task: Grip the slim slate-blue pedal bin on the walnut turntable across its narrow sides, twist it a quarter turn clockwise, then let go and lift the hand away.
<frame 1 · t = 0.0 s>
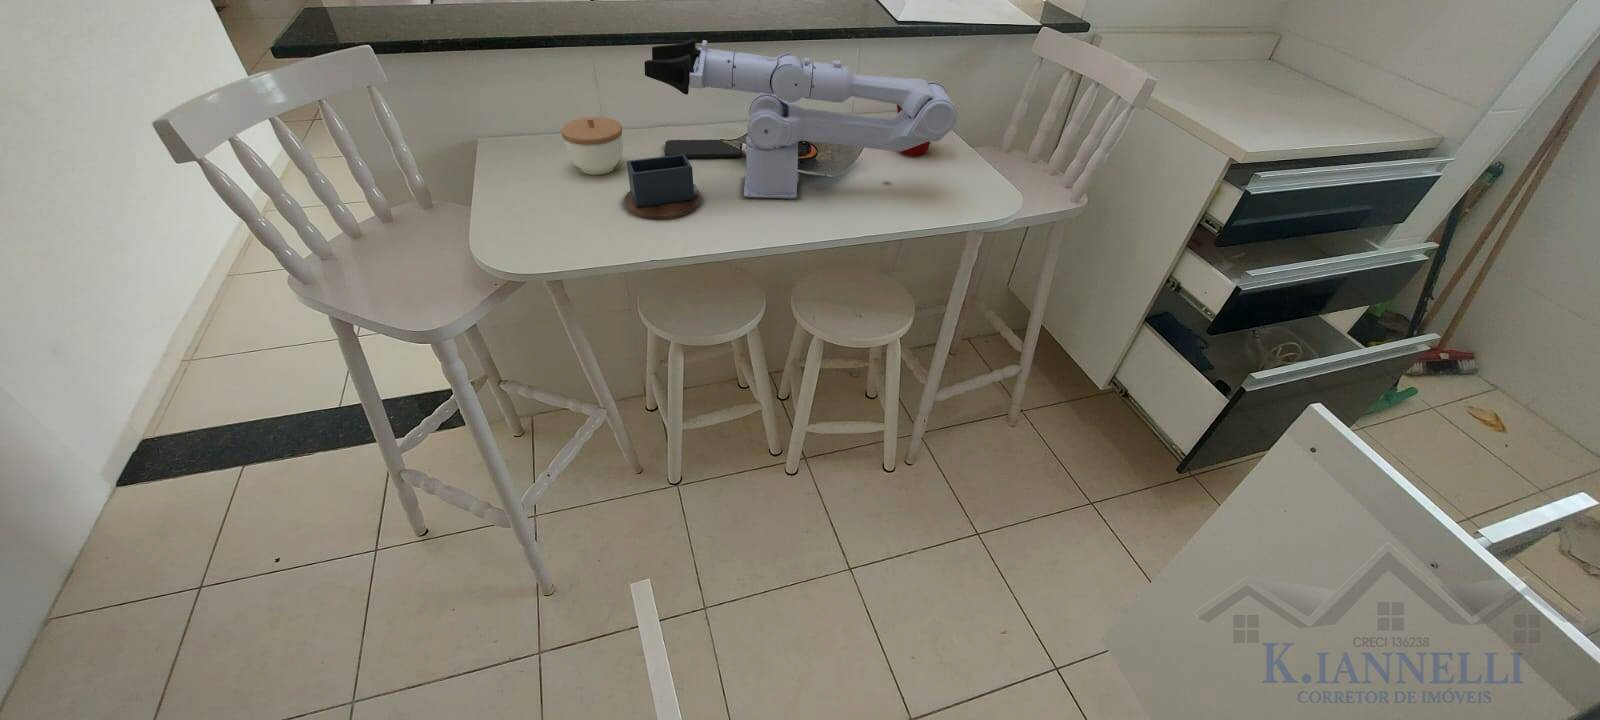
hand: (648, 60, 107), 22 cm above the table, tool horizontal, fingers open, 7 cm apart
trinket box: (598, 168, 126), on the table
phone: (703, 151, 133), on the table
bin: (664, 179, 114), point 4 cm above the table, hinge at 0.0°
turntable: (663, 201, 116), on the table
plastic cup: (913, 152, 137), on the table
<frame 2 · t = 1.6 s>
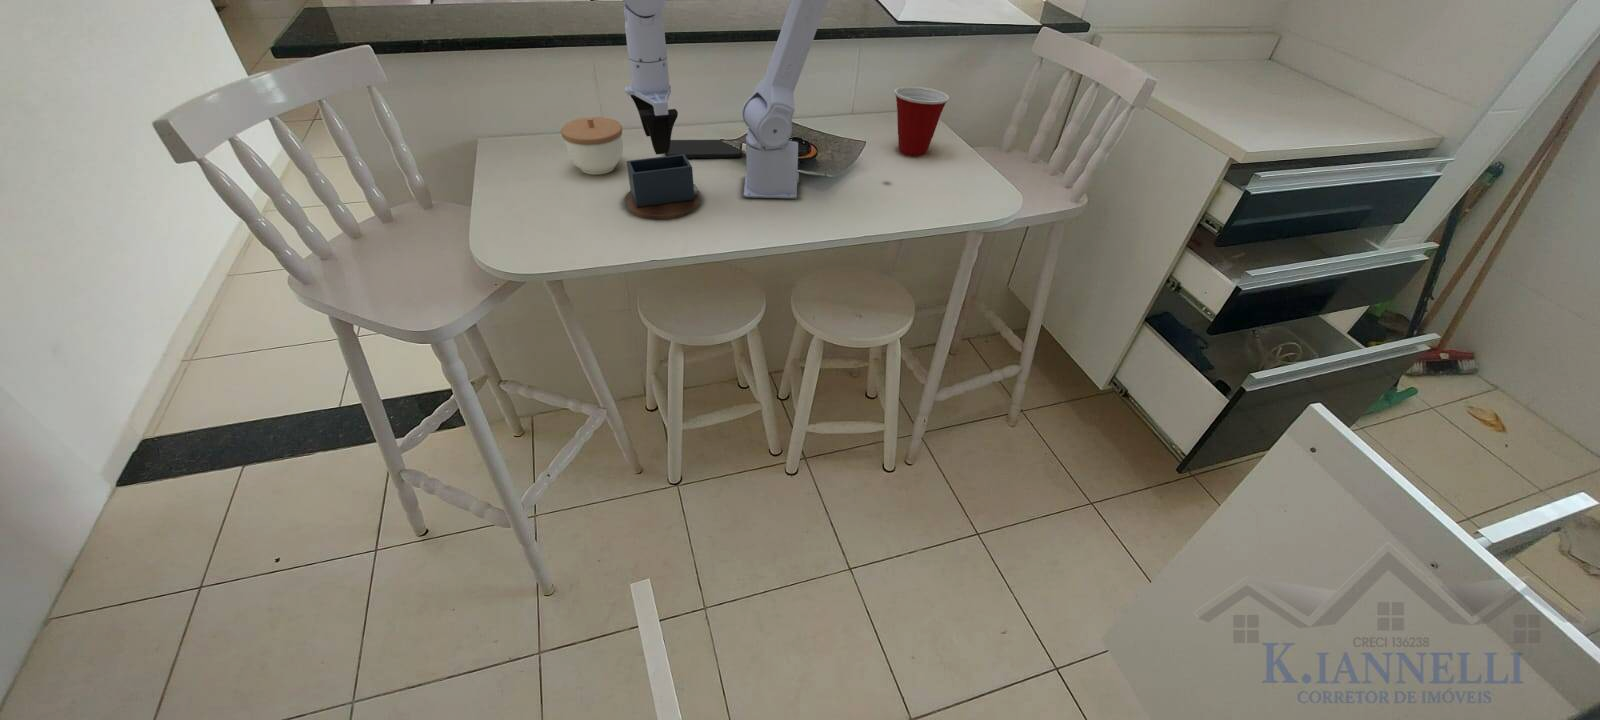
hand: (657, 144, 109), 10 cm above the table, tool pointing down, fingers open, 7 cm apart
nothing on the table moved.
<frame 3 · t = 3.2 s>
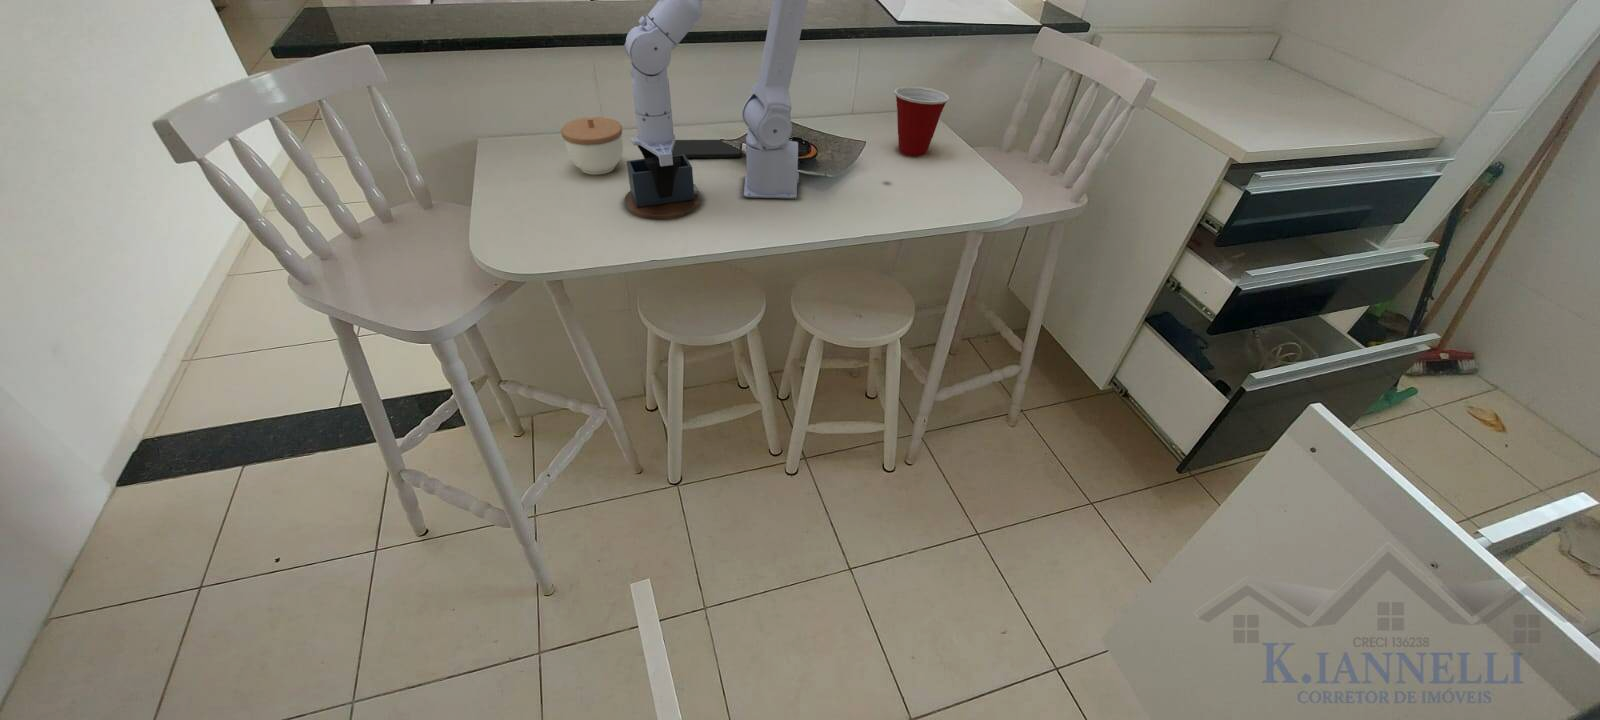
hand: (661, 188, 115), 2 cm above the table, tool pointing down, fingers closed on bin, 5 cm apart
bin: (664, 179, 114), point 4 cm above the table, hinge at 0.0°, touching gripper
everything else where it was.
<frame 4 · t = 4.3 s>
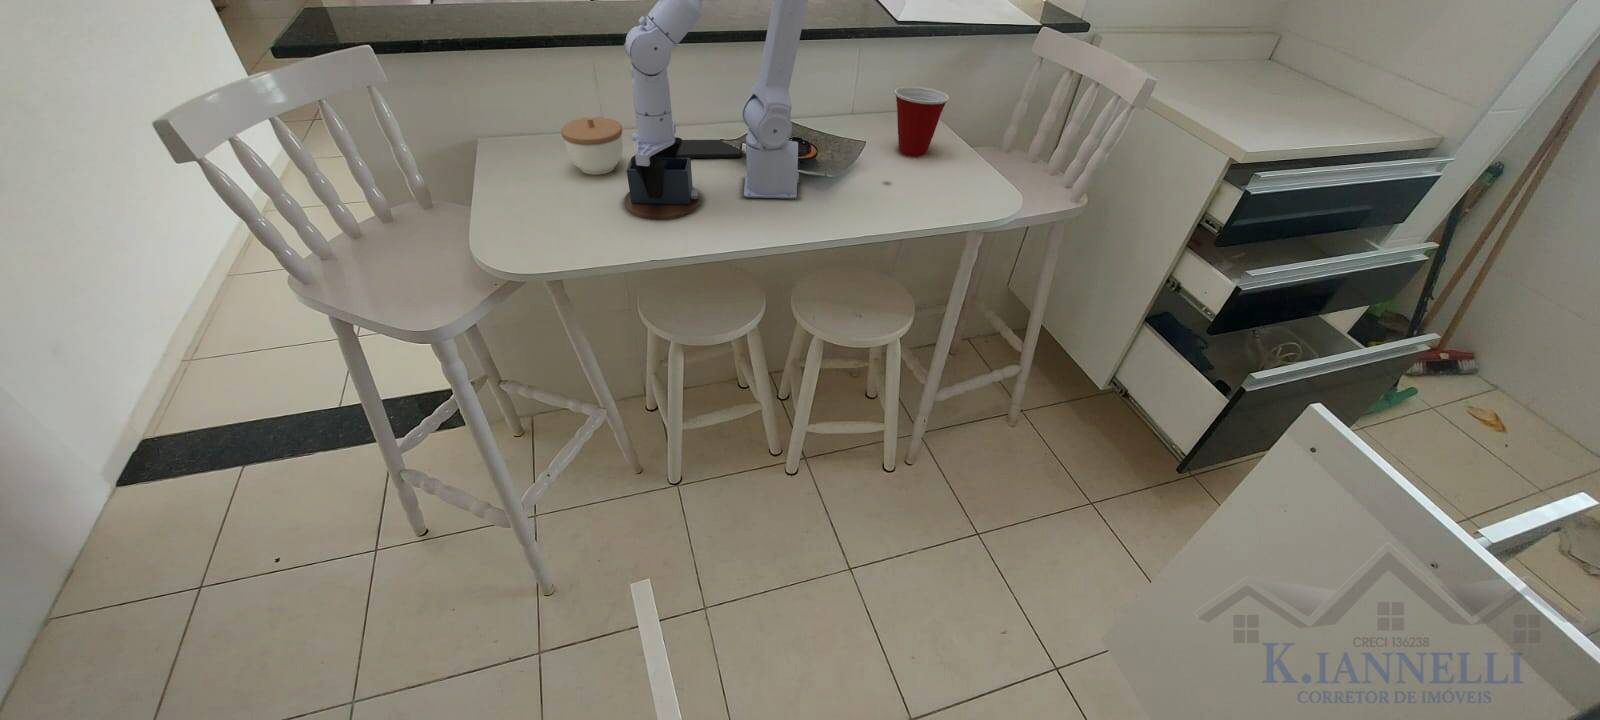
hand: (661, 188, 115), 2 cm above the table, tool pointing down, fingers closed on bin, 6 cm apart
bin: (664, 180, 114), point 4 cm above the table, hinge at -19.3°, touching gripper
everything else where it was.
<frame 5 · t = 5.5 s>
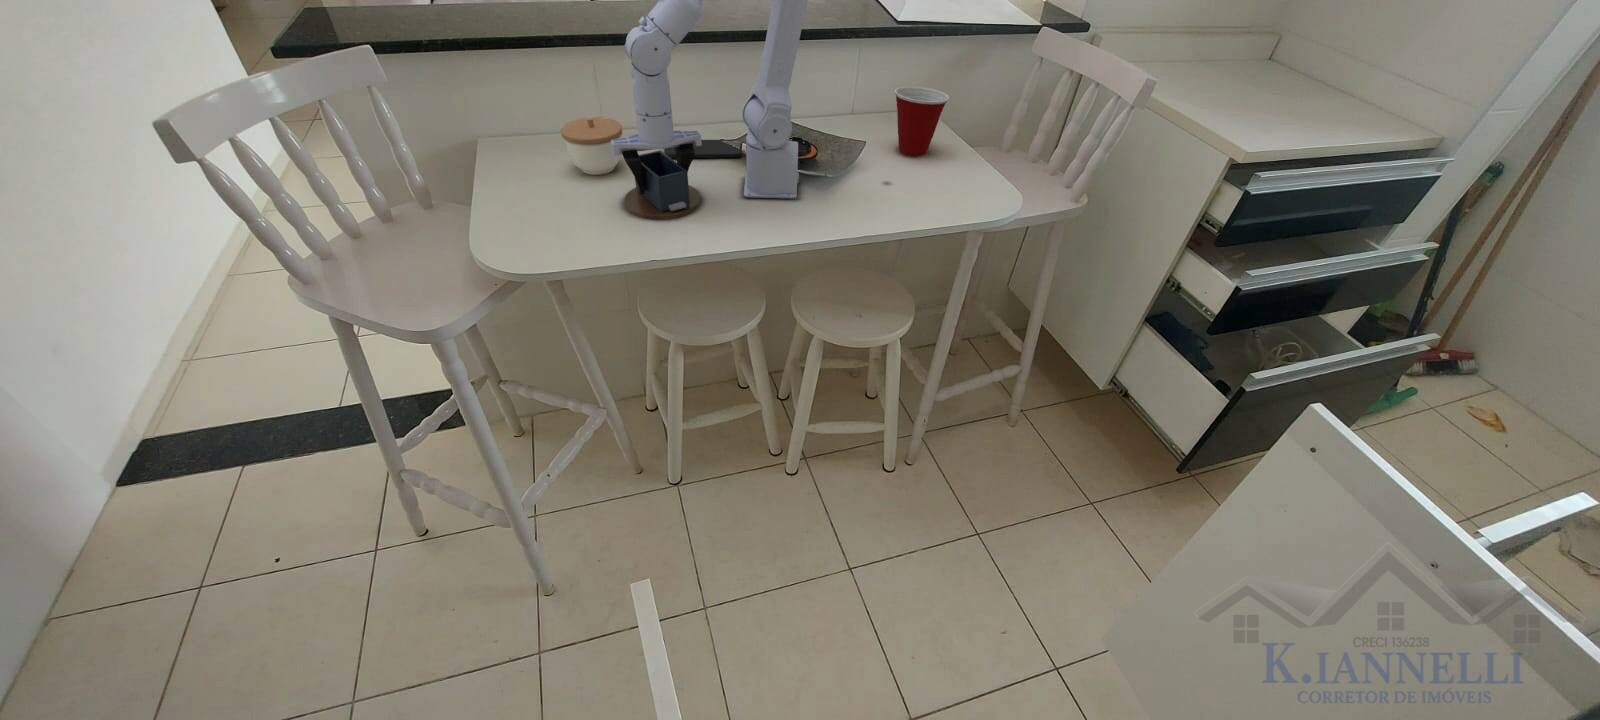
hand: (662, 189, 115), 2 cm above the table, tool pointing down, fingers closed on bin, 6 cm apart
bin: (662, 181, 113), point 4 cm above the table, hinge at -75.9°, touching gripper
everything else where it was.
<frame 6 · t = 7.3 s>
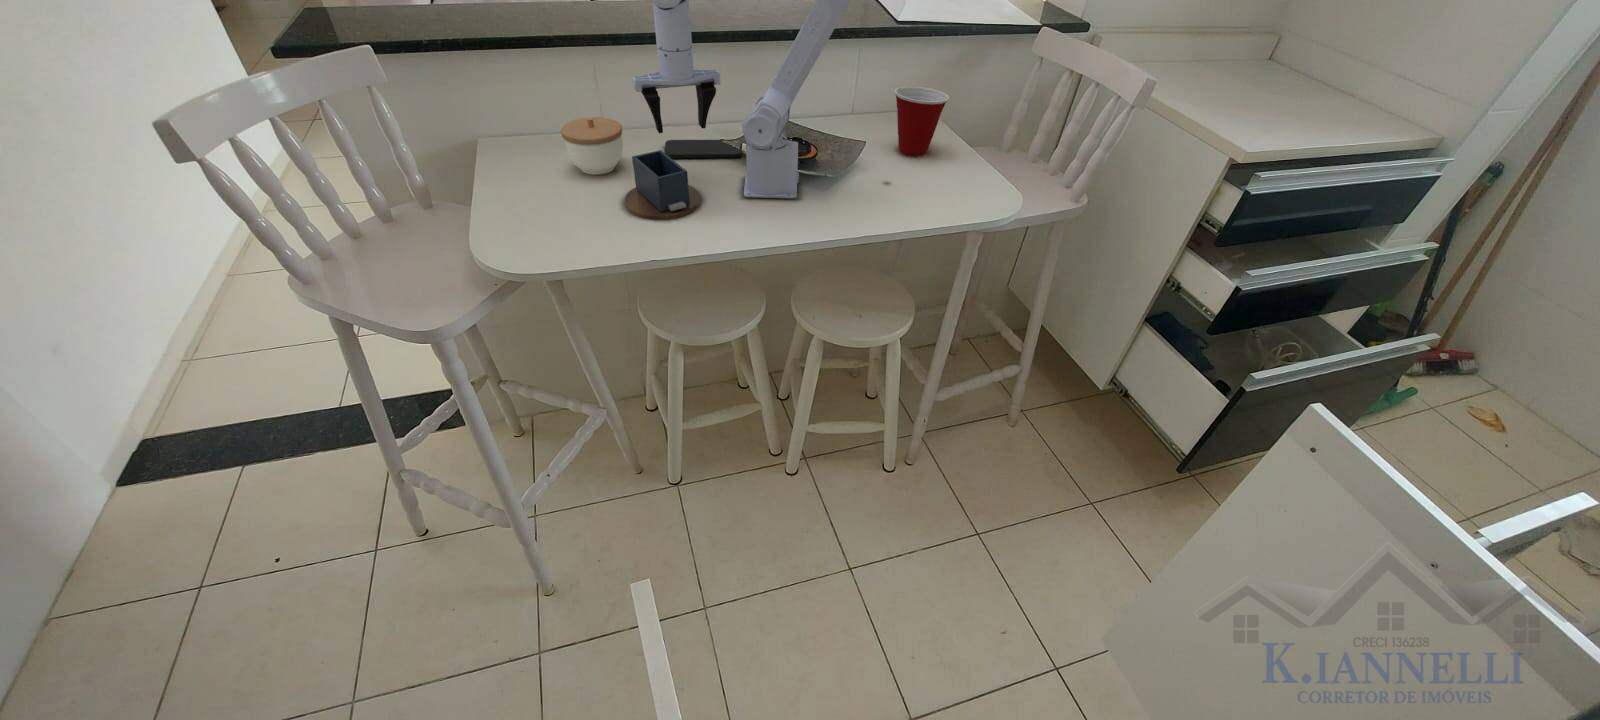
hand: (681, 128, 117), 9 cm above the table, tool pointing down, fingers open, 7 cm apart
bin: (662, 181, 113), point 4 cm above the table, hinge at -76.2°
everything else where it was.
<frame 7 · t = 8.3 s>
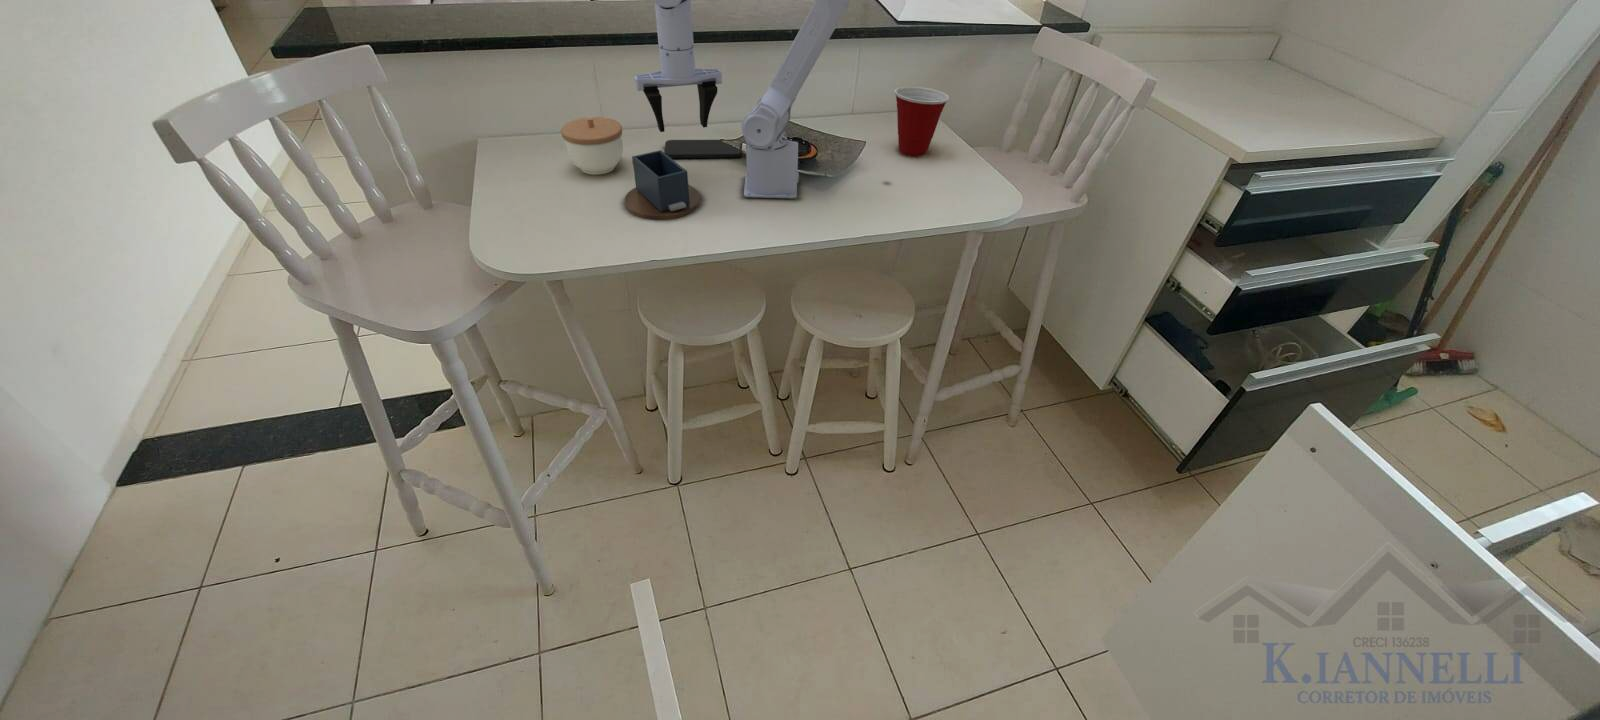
hand: (682, 127, 118), 9 cm above the table, tool pointing down, fingers open, 7 cm apart
nothing on the table moved.
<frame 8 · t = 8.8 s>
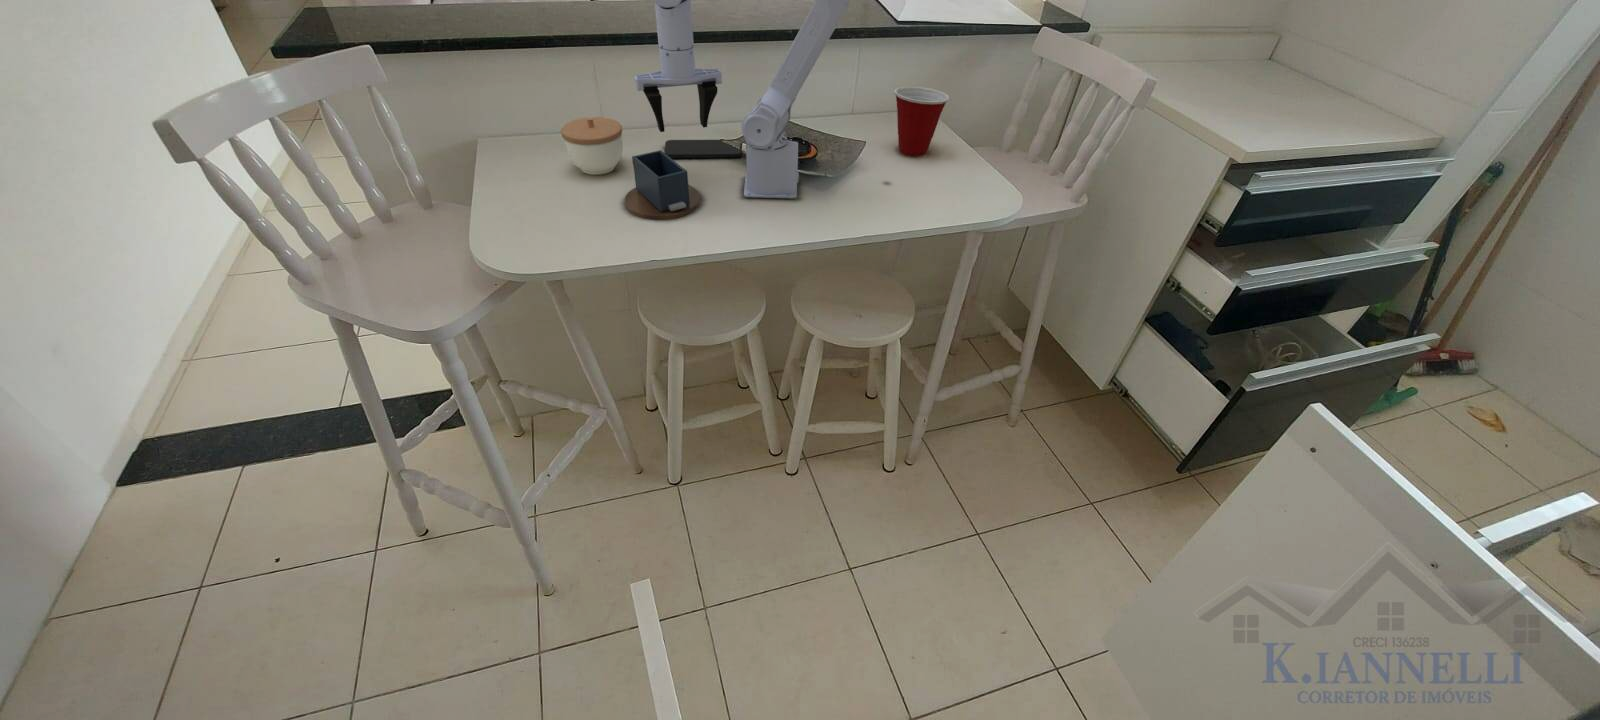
hand: (682, 127, 118), 9 cm above the table, tool pointing down, fingers open, 7 cm apart
nothing on the table moved.
at the end: bin at -76° (first picture: +0°); the gripper is holding nothing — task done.
